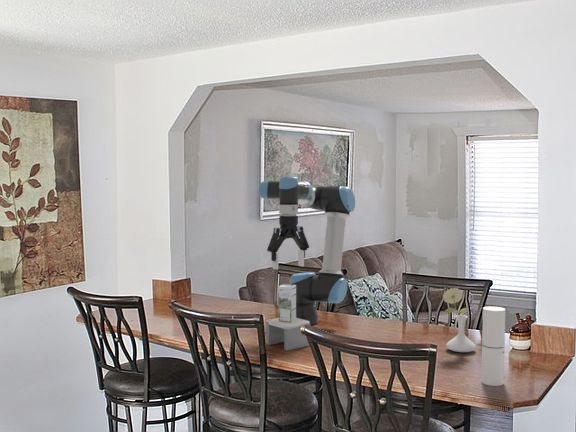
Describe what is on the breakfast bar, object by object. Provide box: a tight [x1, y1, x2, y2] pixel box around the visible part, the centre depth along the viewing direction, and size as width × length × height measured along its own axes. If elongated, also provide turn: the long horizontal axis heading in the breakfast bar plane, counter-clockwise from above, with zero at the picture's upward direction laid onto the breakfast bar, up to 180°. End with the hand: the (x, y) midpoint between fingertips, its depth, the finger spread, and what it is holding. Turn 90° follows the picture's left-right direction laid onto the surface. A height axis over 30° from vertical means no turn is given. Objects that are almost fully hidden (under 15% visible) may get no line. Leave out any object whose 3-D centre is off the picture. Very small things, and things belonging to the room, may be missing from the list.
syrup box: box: [278, 283, 296, 322], centre depth 269 cm, size 6×6×14 cm
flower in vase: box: [442, 287, 477, 353], centre depth 261 cm, size 13×11×25 cm
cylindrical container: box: [480, 306, 506, 387], centre depth 222 cm, size 7×7×25 cm
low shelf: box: [265, 317, 311, 351], centre depth 270 cm, size 13×12×10 cm
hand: (288, 267), depth 269 cm, fingers open, 13 cm apart
